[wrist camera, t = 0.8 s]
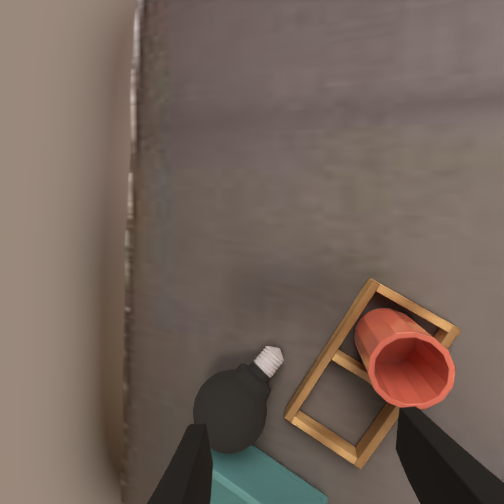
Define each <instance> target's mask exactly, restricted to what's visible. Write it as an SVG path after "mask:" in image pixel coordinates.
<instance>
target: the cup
mask: <svg viewBox="0 0 504 504" xmlns="http://www.w3.org/2000/svg"><path fill="white" fill-rule="evenodd" d="M354 341H355V345H356V347H357V350H358V352H359V355H360V357H361V359H362V362H363V364H364V366H365V369H366V371H367V374H368V376H369V378H370V381H371V383H372V385H373V388H374V390H375V391H376V392H377V393H378V394H379V395H380V396H381V397H382V398H383V399H385V400H386V401H387V402H388V403H390V404H392V405H395V406H398V407H400V408H401V407H413V406H416V407H417V408H418V409H427V408H429V407H431V406H433V405H435V404H437V403H439V402H441V401H442V400H444V398H445V397H446V395H447V394H448V393H449V391H450V390H451V389H452V387H453V385H454V377H455V366H454V363H453V361H452V358H451V356H450V353H449V351H448V350H447V349H446V348H445V347H444V346H443V345H441V344H440V343H439V342H438V341H437V340H436V339H435V338H434V337H432V336H431V335H430V334H429V333H428V332H426V331H425V330H424V329H423V328H422V327H420V326H419V325H418V324H417V323H416V322H414V321H413V320H412V319H411V318H409V317H408V316H407V315H406V314H404V313H402V312H400V311H398V310H395V309H391V308H378V309H374V310H372V311H369V312H368V313H366V314H365V315H363V316H362V317H361V319H360V320H359V321H358V323H357V325H356V327H355V331H354Z"/></svg>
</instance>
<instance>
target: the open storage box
mask: <svg viewBox="0 0 504 504" xmlns="http://www.w3.org/2000/svg"><path fill="white" fill-rule="evenodd" d="M211 454H212V460H213V474H212V489H211V500H210V504H327V496H325V495H324V494H323V493H321V492H320V491H318V490H317V489H315V488H314V487H312V486H311V485H310V484H308V483H307V482H305V481H304V480H302V479H301V478H299V477H298V476H297V475H295V474H294V473H292V472H291V471H289V470H288V469H286V468H285V467H284V466H282V465H281V464H279V463H278V462H276V461H275V460H273V459H272V458H271V457H269V456H268V455H266V454H265V453H263V452H262V451H260V450H259V449H257V448H256V447H255V446H253V445H251V446H249V447H248V448H246V449H245V450H243V451H241V452H237V453H231V454H225V453H220V452H217V451H214V450H213V449H211Z"/></svg>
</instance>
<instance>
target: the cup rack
mask: <svg viewBox="0 0 504 504" xmlns="http://www.w3.org/2000/svg"><path fill="white" fill-rule="evenodd" d="M375 292H378V293H380V294H382V295H383V296H385V297H387V298H389V299H390V300H392V301H394V302H396V303H397V304H399V305H401V306H403V307H404V308H406V309H408V310H410V311H411V312H413V313H415V314H417V315H418V316H420V317H422V318H424V319H426V320H427V321H429V322H431V323H433V324H434V325H436V326H438V327H440V328H439V329H438V331H437V332H436V334H435V335H434V336H433V337H434V338H435V339H436V340H437V341H438V342H439V343H440V344H441V345H443V346H444V347H445V348H446V349H448V348H449V347H450V345H451V344H452V342H453V341H454V340H455V338H456V337H457V336H458V334H459V333H460V331H461V329H459V328H458V327H456V326H454V325H453V324H451V323H449V322H448V321H446V320H444V319H442V318H440V317H439V316H437V315H435V314H433V313H432V312H430V311H428V310H426V309H425V308H423V307H421V306H419V305H417V304H416V303H414V302H412V301H410V300H409V299H407V298H405V297H403V296H402V295H400V294H398V293H396V292H394V291H393V290H391V289H389V288H387V287H386V286H384V285H382V284H380V283H379V282H377V281H375V280H373V279H371V278H369V279H368V280H367V282H366V284H365V285H364V287H363V288H362V290H361V291H360V293H359V294H358V296H357V298H356V299H355V301H354V302H353V304H352V305H351V307H350V308H349V310H348V312H347V313H346V315H345V316H344V318H343V319H342V321H341V323H340V324H339V326H338V327H337V329H336V330H335V332H334V333H333V335H332V337H331V338H330V340H329V341H328V343H327V344H326V346H325V347H324V349H323V351H322V352H321V354H320V355H319V357H318V358H317V360H316V362H315V363H314V365H313V366H312V368H311V369H310V371H309V372H308V374H307V376H306V377H305V379H304V380H303V382H302V383H301V385H300V386H299V388H298V390H297V391H296V393H295V394H294V396H293V397H292V399H291V401H290V402H289V404H288V405H287V407H286V408H285V416H284V418H285V419H286V420H288V421H289V422H291V423H292V424H294V425H295V426H297V427H298V428H300V429H301V430H303V431H304V432H306V433H307V434H309V435H310V436H312V437H313V438H315V439H316V440H318V441H319V442H321V443H322V444H324V445H325V446H327V447H328V448H330V449H331V450H333V451H334V452H336V453H337V454H339V455H340V456H342V457H343V458H345V459H346V460H348V461H349V462H351V463H352V464H354V465H355V466H357V467H358V468H360V469H362V467H363V466H364V465H365V463H366V462H367V460H368V459H369V458H370V456H371V455H372V454H373V452H374V451H375V449H376V448H377V447H378V445H379V444H380V442H381V441H382V440H383V438H384V437H385V436H386V434H387V433H388V431H389V430H390V429H391V427H392V426H393V424H394V423H395V422H396V420H397V419H398V417H399V408H400V407H398V406H395V405H392V404H390V403H388V402H387V403H386V405H385V406H384V407H383V409H382V410H381V412H380V413H379V414H378V416H377V417H376V419H375V420H374V422H373V423H372V424H371V426H370V427H369V429H368V430H367V431H366V433H365V434H364V436H363V437H362V439H361V440H360V441H359V443H358V444H357V446H356V447H354V446H353V445H351V444H350V443H348V442H347V441H345V440H344V439H342V438H341V437H339V436H338V435H336V434H335V433H333V432H332V431H330V430H329V429H327V428H326V427H324V426H322V425H321V424H319V423H318V422H316V421H315V420H313V419H312V418H310V417H309V416H307V415H306V414H304V413H303V412H301V411H300V410H299V408H300V407H301V405H302V404H303V402H304V401H305V399H306V398H307V396H308V395H309V393H310V391H311V390H312V388H313V387H314V385H315V384H316V382H317V381H318V379H319V378H320V376H321V375H322V373H323V371H324V370H325V368H326V367H327V365H328V364H329V362H330V361H331V359H332V360H333V361H335V362H336V363H338V364H339V365H341V366H343V367H344V368H346V369H347V370H349V371H351V372H352V373H354V374H356V375H357V376H359V377H360V378H362V379H364V380H365V381H367V382H368V383H370V384H372V383H371V381H370V378H369V376H368V374H367V371H366V369H365V366H364V365H363V364H361V363H360V362H358V361H356V360H355V359H353V358H351V357H350V356H348V355H347V354H345V353H343V352H342V351H340V350H338V348H339V347H340V345H341V344H342V342H343V341H344V339H345V338H346V336H347V335H348V333H349V332H350V330H351V328H352V327H353V325H354V324H355V322H356V321H357V319H358V318H359V316H360V315H361V313H362V312H363V310H364V308H365V307H366V305H367V304H368V302H369V301H370V299H371V298H372V296H373V295H374V293H375Z"/></svg>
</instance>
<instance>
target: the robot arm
mask: <svg viewBox="0 0 504 504" xmlns="http://www.w3.org/2000/svg"><path fill="white" fill-rule="evenodd" d="M396 451H397V453H398V456H399V458H400V461H401V463H402V466H403V468H404V470H405V473H406V475H407V478H408V480H409V482H410V484H411V486H412V488H413V490H414V492H415V494H416V496H417V498H418V500H419V502H420V503H421V504H504V482H502V481H501V480H500V479H499V478H497V477H496V476H495V475H494V474H492V473H491V472H490V471H489V470H488V469H486V468H485V467H484V466H483V465H482V464H481V463H479V462H478V461H477V460H476V459H475V458H474V457H472V456H471V455H470V454H469V453H468V452H467V451H465V450H464V449H463V448H462V447H461V446H460V445H459V444H457V443H456V442H455V441H454V440H453V439H452V438H451V437H450V436H448V435H447V434H446V433H445V432H444V431H443V430H442V429H441V428H440V427H438V426H437V425H436V424H435V423H434V422H433V421H432V420H431V419H430V418H428V417H427V416H426V415H425V414H424V413H423V412H422V411H421V410H420V409H418V408H417V407H416V406H413V407H401V408H399V418H398V429H397V441H396ZM212 474H213V460H212V454H211V448H210V443H209V437H208V431H207V426H206V423H203V424H191V425H189V426H188V427H187V429H186V431H185V434H184V436H183V438H182V440H181V442H180V444H179V446H178V448H177V450H176V452H175V454H174V456H173V458H172V460H171V462H170V464H169V466H168V468H167V470H166V471H165V473H164V475H163V477H162V479H161V481H160V482H159V484H158V486H157V488H156V490H155V491H154V493H153V495H152V496H151V498H150V500H149V501H148V503H147V504H210V500H211V489H212Z"/></svg>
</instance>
